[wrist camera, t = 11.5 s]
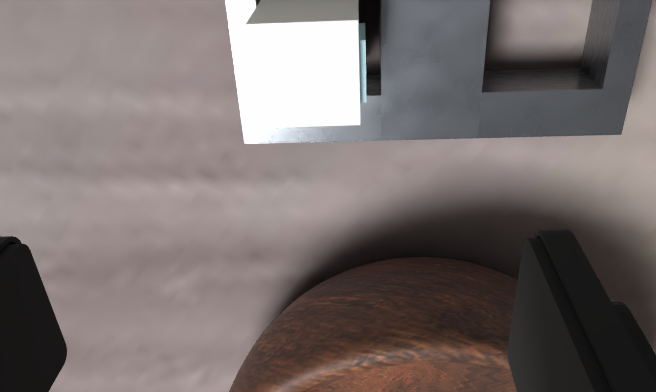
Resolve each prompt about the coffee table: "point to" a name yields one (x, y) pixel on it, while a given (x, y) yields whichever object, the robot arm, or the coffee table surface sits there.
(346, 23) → the plug
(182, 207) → the coffee table surface
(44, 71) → the coffee table surface
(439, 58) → the panel
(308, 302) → the wooden bowl
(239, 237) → the coffee table surface
